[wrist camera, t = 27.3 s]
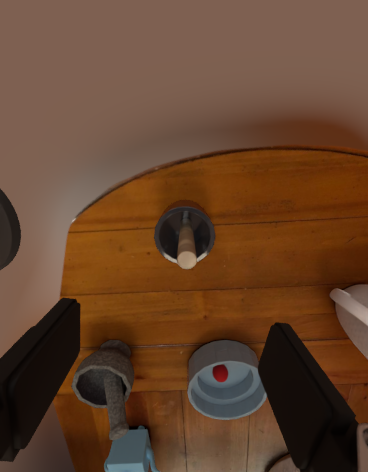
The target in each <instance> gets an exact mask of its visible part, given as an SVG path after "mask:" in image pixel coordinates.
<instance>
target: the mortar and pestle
mask: <svg viewBox="0 0 368 472" xmlns="http://www.w3.org/2000/svg"><path fill="white" fill-rule="evenodd" d="M130 355H131V351H130V349H129V347H128V345H126V344H125V343H123V342H121V341H120V340H108V341H107V342H105V343H103V344H102V345H101V347H100V350H98V351H96V352H94V353H93V354H91V355H89V356H88V357H87V358H85V359H84V360H83V362H82V363H81V364H80V366H79V367H78V369H77V371H76V373H75V375H74V379H73V382H72V386H71V387H72V389H73V390H74V392H75V394H76V395H77V397H78V399H79V400H81V401H83V402H85V403H86V404H88V405H90V406H92V407H94V408H108V414H109V421H110V428H111V430H110V433H109V438H110V439H111V440H116V439H119V438H121V437H123V436H124V435H126V434H127V432H128V431H129V425H128V423H127V422H126V412H125V402H126V401H127V399H128V397H129V394H130V392H131V389H132V385H133V381H134V370H133V366H132V364H131V361H130V359H129V358H130Z"/></svg>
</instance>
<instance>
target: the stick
mask: <svg viewBox="0 0 368 472" xmlns="http://www.w3.org/2000/svg"><path fill="white" fill-rule="evenodd" d="M196 262H197V256H196V249H195V242H194V235H193V228H192V222H191V220H190V219H187V218H185V219H183V220H182V221H181V222H180V232H179V243H178V253H177V263H178V265H179V266H180V267H181V268H183V269H190V268H192V267H194V266H195V265H196Z"/></svg>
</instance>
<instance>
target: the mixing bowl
mask: <svg viewBox="0 0 368 472" xmlns="http://www.w3.org/2000/svg"><path fill="white" fill-rule="evenodd" d="M221 364H223V365H225V366H226V367H227V369H228V378H227V380H226V381H225V382H218V381H216V380H215V378H214V377H213V373H212V371H213V367H214V366H217V365H221ZM258 364H259V360H258V358H257V356H256V354H255V352H254V351H253V350H251V349H250V348H249V347H248V346H247V345H244V344H242V343H240V342H237V341H230V340H221V341H214V342H211V343H208V344H206V345H203V346H202V347H201V348H199V349H198V350H197V351H195V352H194V354H193V355H192V357H191V358H190V360H189V363H188V368H187V392H188V397H189V401H190V403H191V404H192V405H193V407H194V408H195V409H196V410H197V411H199V412H200V413H201V414H203V415H205V416H208V417H210V418H213V419H221V420H231V419H238V418H241V417H244V416H247V415H250V414H251V413H253V412H254V411H256V410H257V409H259V407H260V406H261V405H262V404H263V403H264V402H265V400H266V397H267V395H266V392H265V390H264V387H263V384H262V382H261V379H260V377H259V374H258Z"/></svg>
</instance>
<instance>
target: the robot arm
mask: <svg viewBox="0 0 368 472" xmlns="http://www.w3.org/2000/svg"><path fill="white" fill-rule="evenodd" d="M79 351H80V303H77V300H76V299H70V298H62V299H61V300H60V301H59V302H58V303H57V304H56V305H55V306H54V307H53V308H52V309H51V310H50V311H49V312H48V313H47V314H46V315H45V316H44V317H43V318H42V319H41V320H40V321H39V322H38V323H37V325H36V326H33V327H31V328H30V329H29V330H28V331H27V332H26V333H25V334H24V335H23V336H22V337H21V338H20V339H19V340H18V341H17V342H16V343H15V344H14V345H13V346H12V347H11V348H10V349H9V350H8V351H7V352H6V353H5V354H4V355H3V357H1V358H0V461H9V462H13V461H14V459H15V457H16V455H17V454H18V452H19V450H20V449H24V448H25V447H26V446H27V445H28V443H29V442H30V440H31V438H32V436H33V435H34V433H35V431H36V429H37V427H38V426H39V424H40V422H41V420H42V419H43V417H44V415H45V413H46V411H47V410H48V408H49V406H50V404H51V403H52V401H53V399H54V397H55V396H56V394H57V392H58V390H59V388H60V387H61V385H62V383H63V381H64V380H65V378H66V376H67V374H68V373H69V371H70V369H71V367H72V365H73V364H74V362H75V360H76V358H77V357H78V354H79ZM258 374H259V377H260V379H261V382H262V384H263V387H264V390H265V392H266V395H267V397H268V400H269V402H270V405H271V407H272V410H273V413H274V415H275V418H276V420H277V423H278V425H279V428H280V430H281V433H282V435H283V438H284V441H285V443H286V446H287V448H288V451H289V453H290V456H291V458H292V461H293V463H294V465H295V466H296V468H298V469H299V470H300V472H368V423H361V424H358V422H357V421H356V420H355V416H356V415H355V414H354V412H353V411H352V410H351V408H350V407H349V406H348V404H347V403H346V401H345V400H344V399H343V397H342V396H341V395H340V393H339V392H338V390H337V389H336V388H335V386H334V385H333V384H332V382H331V381H330V379H329V378H328V377H327V375H326V374H325V373H324V371H323V370H322V369H321V367H320V366H319V364H318V363H317V362H316V360H315V359H314V358H313V356H312V355H311V353H310V352H309V351H308V349H307V348H306V347H305V345H304V344H303V342H302V341H301V340H300V338H299V337H298V336H297V334H296V333H295V331H294V330H293V329H292V327H291V326H290V325H289V324H286V323H275V324H274V325H272V326H271V328H270V331H269V334H268V337H267V340H266V343H265V346H264V349H263V352H262V355H261V358H260V361H259V364H258Z"/></svg>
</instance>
